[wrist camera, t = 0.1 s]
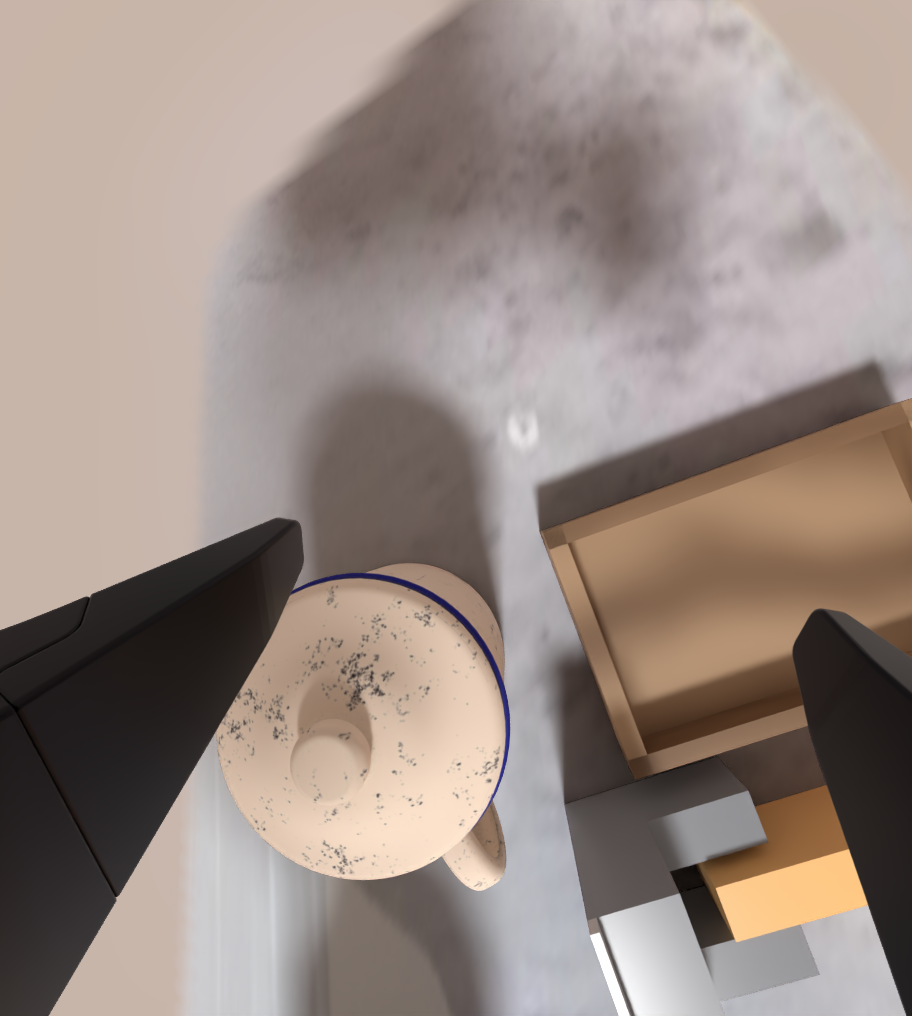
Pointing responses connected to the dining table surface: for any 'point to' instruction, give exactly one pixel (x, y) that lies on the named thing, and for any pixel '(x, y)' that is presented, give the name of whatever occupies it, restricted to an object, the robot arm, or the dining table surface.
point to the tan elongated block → (786, 869)
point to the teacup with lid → (376, 728)
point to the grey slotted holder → (674, 894)
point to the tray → (738, 585)
